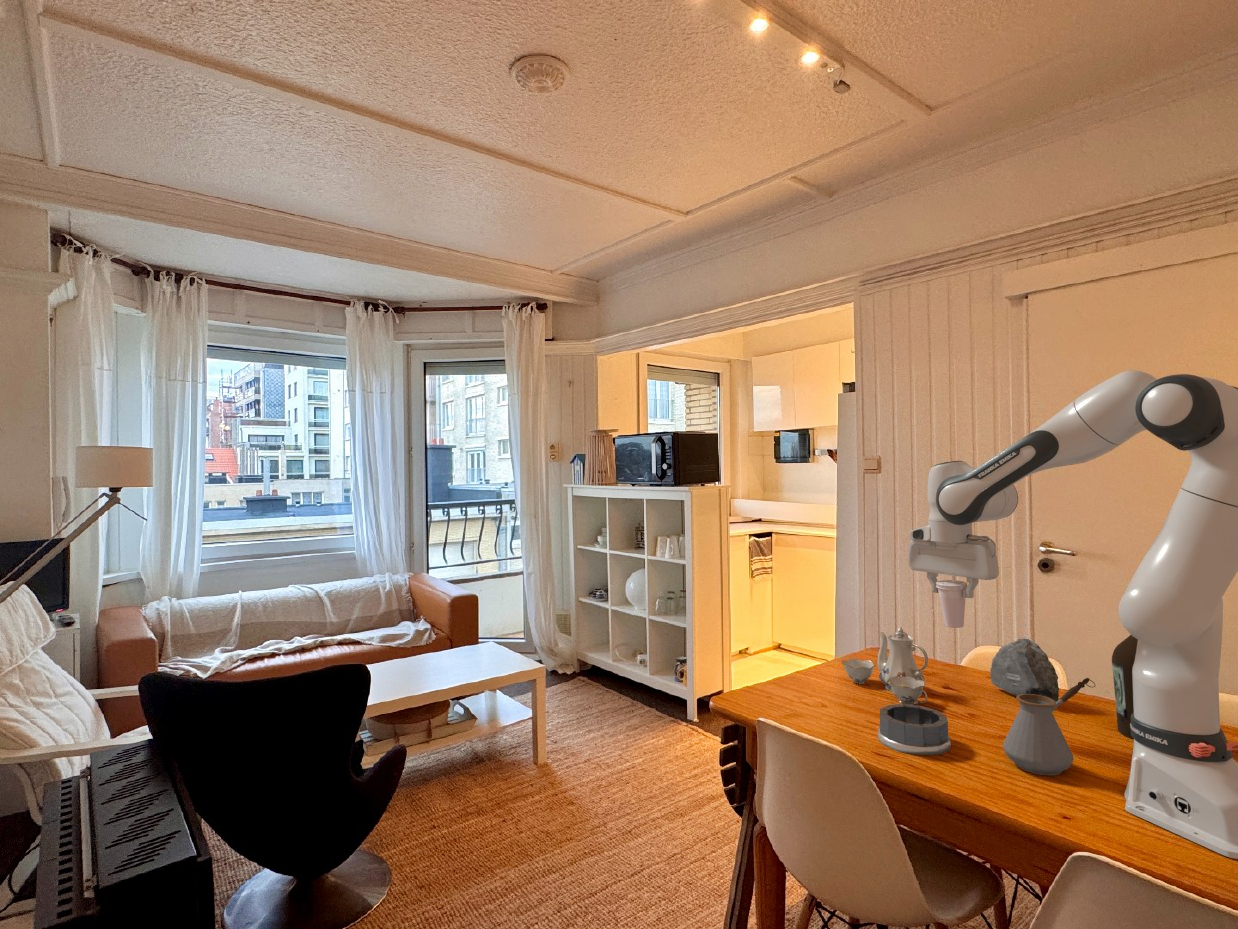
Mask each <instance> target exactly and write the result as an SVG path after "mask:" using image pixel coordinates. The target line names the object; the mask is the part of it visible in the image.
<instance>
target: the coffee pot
mask: <svg viewBox="0 0 1238 929" xmlns="http://www.w3.org/2000/svg"><path fill="white" fill-rule="evenodd" d="M1089 682H1092V683H1093V686H1091V685H1089ZM1086 686H1087V687H1089V688H1092V689H1093V688H1096V683H1095V681H1093V680H1092V679H1090V678H1089V677H1085V678H1084V679H1082V681H1078V682H1077V684H1076V685H1074V686H1072V687H1070V688H1069V689H1068V690H1067V691H1066V692H1065V693H1064V694H1063V695H1062V696H1061V697H1060V698H1058V701H1057V702H1055V701H1054V700H1053V699H1051V698H1048V697H1045V696H1041V695H1035V694H1020V695H1018V696H1016V701H1018V702H1019V706H1020V709H1019V710H1018V712H1017V714H1016V717H1015V718H1014V720H1013V722H1012V725H1011V727H1010V728H1009V731H1008V733H1007V735H1006V737H1005V739H1004V741H1003V744H1002V749H1003V751H1004V752H1005V754H1006V756H1007V757H1008V759H1009V760H1010V761H1011V762H1013V763H1014V765H1015V766H1016V767H1018V768H1019V769H1021V770H1022V771H1025V772H1029V773H1032V774H1034V775H1041V776H1058V775H1061V774H1062V772H1063V771H1066V770H1068V769H1069V768H1070V767H1071V766H1072V764H1073V762H1074V760H1075V758H1074V755H1073V753H1072V750H1071V748H1070V746H1069V744H1068V742H1067V741H1066V740H1067V739H1066V738H1065V736H1064V733H1063V732H1062V730H1061V728H1060V726H1059V724H1058V722H1057V720H1056V718H1055V716H1054V713H1053V712H1055V710H1056V709H1057V708H1059V707H1060V706H1061V705H1062V704H1063V703H1064V704H1065V703H1066V702H1067V701H1068V700H1070V699H1071V698H1072V697H1074V696H1075V695H1077V694H1078V692H1079V691H1080V690H1081V689H1084V688H1085V687H1086Z"/></svg>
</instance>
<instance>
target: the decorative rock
mask: <svg viewBox="0 0 1238 929" xmlns="http://www.w3.org/2000/svg"><path fill="white" fill-rule="evenodd" d="M989 674H990V682H991V683H992V684H993V686H995V687H996V688H999V689H1001V690H1003V691H1004V692H1005V693H1009V694H1011V695H1013V696H1016V697H1017V696H1018V695H1020V694H1035V695H1041V696H1045V697H1048V698H1051V699H1053V700H1054V701H1055V702H1057V701H1058V700H1059V699H1060V698H1059V697H1060V692H1059V691H1060V688H1059V682H1058V681H1059V680H1058V679H1059V675H1058V673H1057V672H1056V668H1055V666H1054V664H1053V663H1052V662H1051V661H1050V660H1049V657H1048V654H1047V653H1046V652H1045V651H1043V650H1042V647H1040V645H1039V644H1037V643H1036V642H1034V641H1032V640H1031V639H1030V638H1018V639H1017V640H1016V641H1013V642H1009V643H1007V644H1005V645H1003V646H1001V647H1000V648H999V650H998V651H997V652H996V653H995V655H994V657H993V658H992V660H991V667H990V669H989Z"/></svg>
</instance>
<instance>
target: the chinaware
mask: <svg viewBox="0 0 1238 929" xmlns="http://www.w3.org/2000/svg"><path fill="white" fill-rule="evenodd" d="M878 633H879V635H880V638H881V642H880V646H879V650H878V653H877V659H876V660H877V661H876V662H877V665H876V664H875V663H874V662H873V661H871V660H870V659H869V660H868V659H867V660H861V659H860V658H855V657H853V658H849V659H848V660H841V664H842V665H843V666H844V670H845V673H846V674H847V677H849V678H850V679H851V680H853V681H852V683H853V682H855V683H854V684H856V683H857V684H856V685H865V683H866V681H868V680H869V679H870V677H871V676H872V673H873V671H874V668H876V666H877V668H878V671H879V674H878V677H879V680H880V681H881V682H882V684H884V685H885V686H884V689H885V690H886V691H889V692H891V693H892V694H893V696H895V697H896V698H897V699H898V700H899V701H898V702H899V704H908V705H919V703H921V704H926V703H927V702H928V697H929V696H928V694H927V692H926V691H925V690H924V688H925V686H926V678H925V677H924V675H923V673H924V672H923V671H924V670H925V669H926V668H927V667H928V665H929V656H928V654H927V652H926V650H925V649H924V648H923V647H922V646H921V645H919V644H916V643H914V639H915V637H913V636H910V635H908V633H906V632H905V631H904V629H903V628H902V626H899V627H898V628H897V631H895V632H894V633H893V634H890V635H887V636H886V634H885V633H884V632H883V631H879V632H878ZM888 642H889V643H888ZM888 644H889V653H888ZM917 648H918V649H919V650H920V651H921V653H922V655H923V656H924V664H923V666H922V667H921V668H919V667H918V665H917V663H916V660H915V658H914V652H915V651H916V649H917ZM864 682H865V683H864ZM858 683H859V684H858ZM923 693H924V696H925V700H924V701H921V700H919V698H920V697H921V696H922V694H923Z"/></svg>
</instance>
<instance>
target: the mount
mask: <svg viewBox="0 0 1238 929" xmlns="http://www.w3.org/2000/svg"><path fill="white" fill-rule="evenodd" d="M877 739H878V740H879V742H880V743H881V744H882V745H884V746H885V747H887V748H889V749H891V750H893V751H896V752H900V753H904V754H908V755H913V754H914V755H915V756H929V757H930V756H937V755H938V756H939V755H943V754H945V753H947V752H950V750H951V748H952V747H951V746H952V745H951V744H952V742H951V741H952V740H951V737H950V735H949V721H948V716H947V715H946V714H944V713H942V712H940V711H939V710H937V709H933V708H930V707H928V706H927V707H925V706H922V705H919V704H913V705H908V704H902V703H899V704H888V705H886V706H883V707H881V708H879V726H878V728H877Z"/></svg>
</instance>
